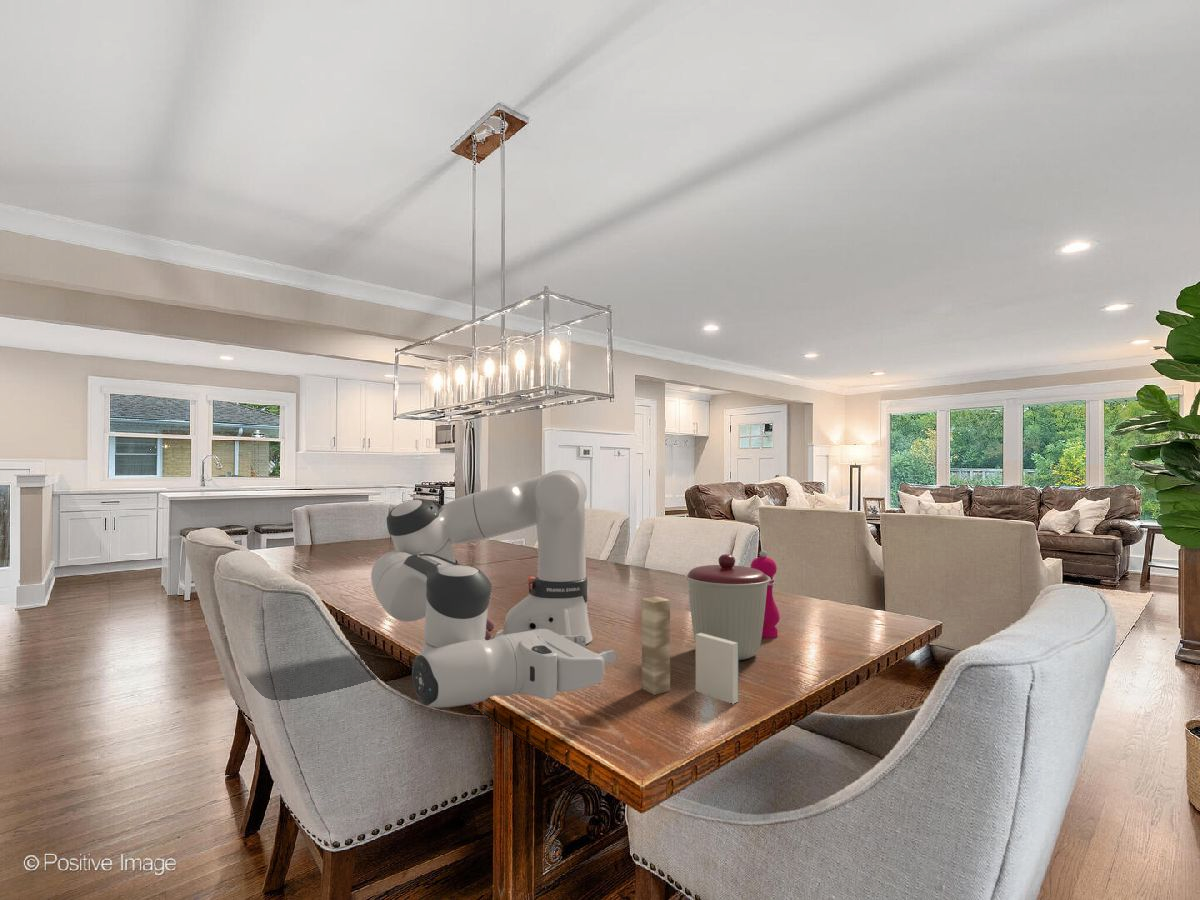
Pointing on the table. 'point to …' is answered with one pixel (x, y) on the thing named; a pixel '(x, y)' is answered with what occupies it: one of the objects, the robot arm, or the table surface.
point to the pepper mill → (768, 595)
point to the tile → (717, 667)
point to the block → (656, 645)
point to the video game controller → (488, 627)
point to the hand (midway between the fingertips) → (598, 647)
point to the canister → (729, 603)
